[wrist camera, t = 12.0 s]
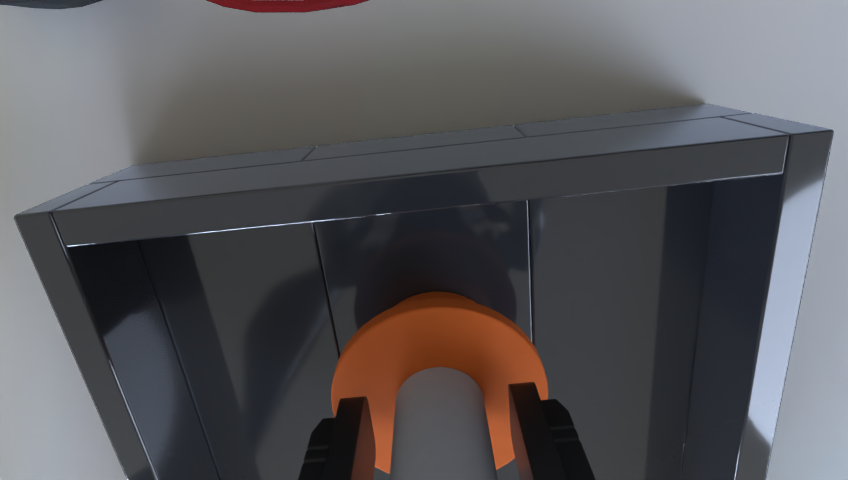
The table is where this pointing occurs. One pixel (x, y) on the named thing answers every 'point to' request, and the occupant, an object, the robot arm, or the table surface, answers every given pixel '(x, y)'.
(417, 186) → the dark grey tray
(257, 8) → the digital clamp meter
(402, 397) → the plug
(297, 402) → the sink
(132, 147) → the table surface
